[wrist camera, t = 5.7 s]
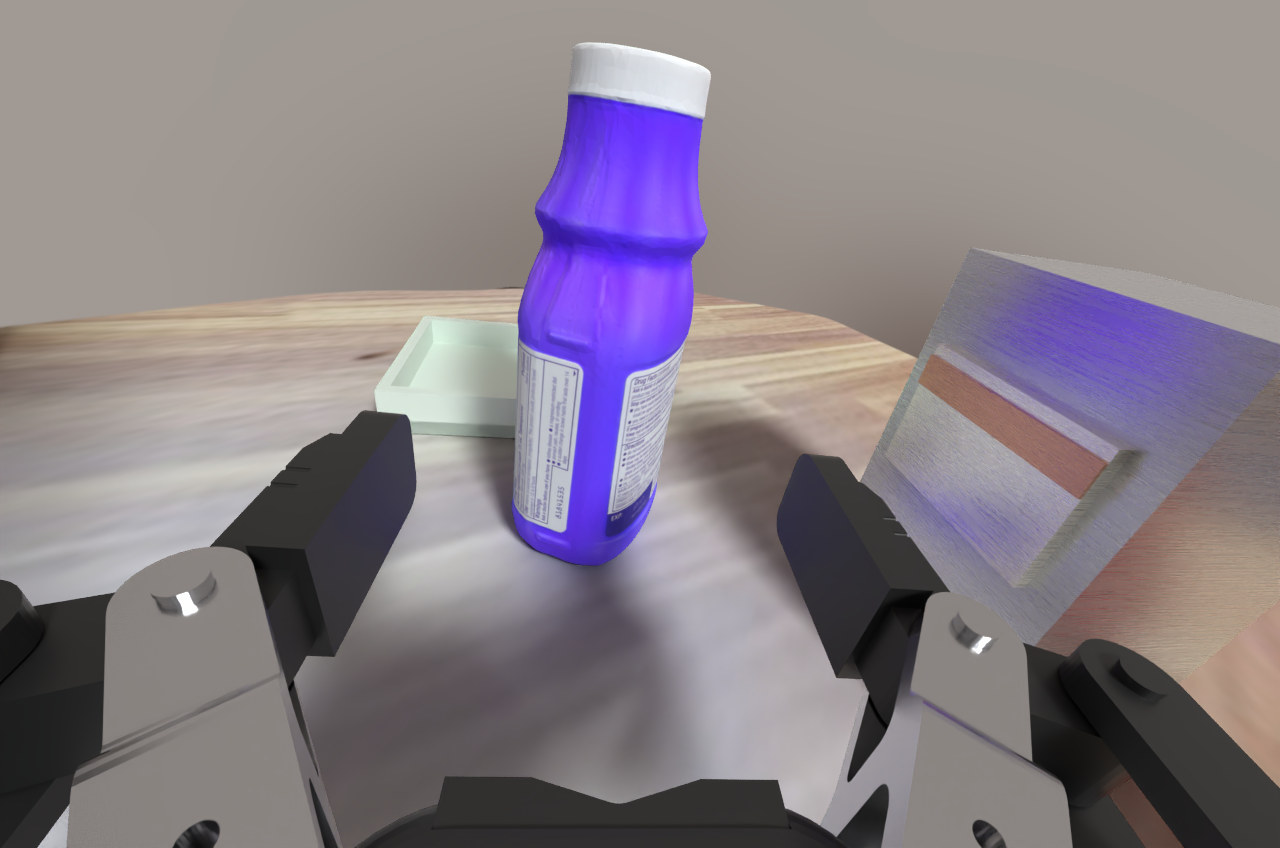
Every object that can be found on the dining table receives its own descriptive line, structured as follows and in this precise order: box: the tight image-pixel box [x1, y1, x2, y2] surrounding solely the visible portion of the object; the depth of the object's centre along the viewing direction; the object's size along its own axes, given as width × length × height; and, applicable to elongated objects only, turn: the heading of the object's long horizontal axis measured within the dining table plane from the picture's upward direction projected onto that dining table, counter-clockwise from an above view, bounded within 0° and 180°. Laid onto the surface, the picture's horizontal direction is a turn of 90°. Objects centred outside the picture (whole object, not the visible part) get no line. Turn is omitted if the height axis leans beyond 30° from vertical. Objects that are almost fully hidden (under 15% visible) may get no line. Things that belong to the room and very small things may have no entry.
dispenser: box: [860, 248, 1280, 684], centre depth 16 cm, size 8×8×14 cm
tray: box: [374, 316, 518, 438], centre depth 31 cm, size 11×11×2 cm
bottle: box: [512, 43, 711, 566], centre depth 18 cm, size 7×6×17 cm
